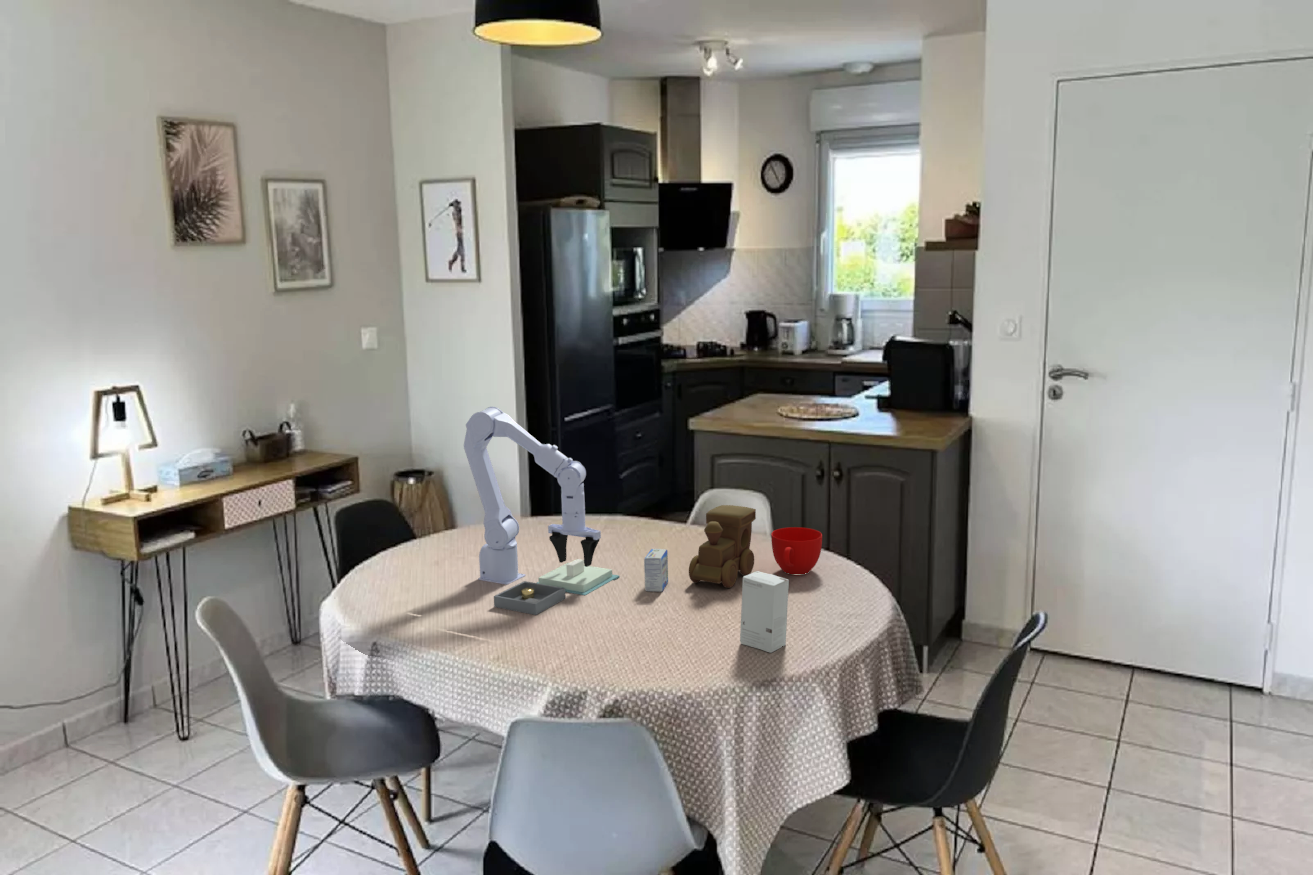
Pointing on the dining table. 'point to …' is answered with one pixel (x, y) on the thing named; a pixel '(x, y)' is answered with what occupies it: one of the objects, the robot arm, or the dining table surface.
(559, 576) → the lid
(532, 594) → the bowl
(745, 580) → the skincare box
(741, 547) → the wooden toy train
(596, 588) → the mat
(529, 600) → the steel block
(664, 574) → the medicine box
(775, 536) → the ceramic cup
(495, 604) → the tub
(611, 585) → the dining table surface
